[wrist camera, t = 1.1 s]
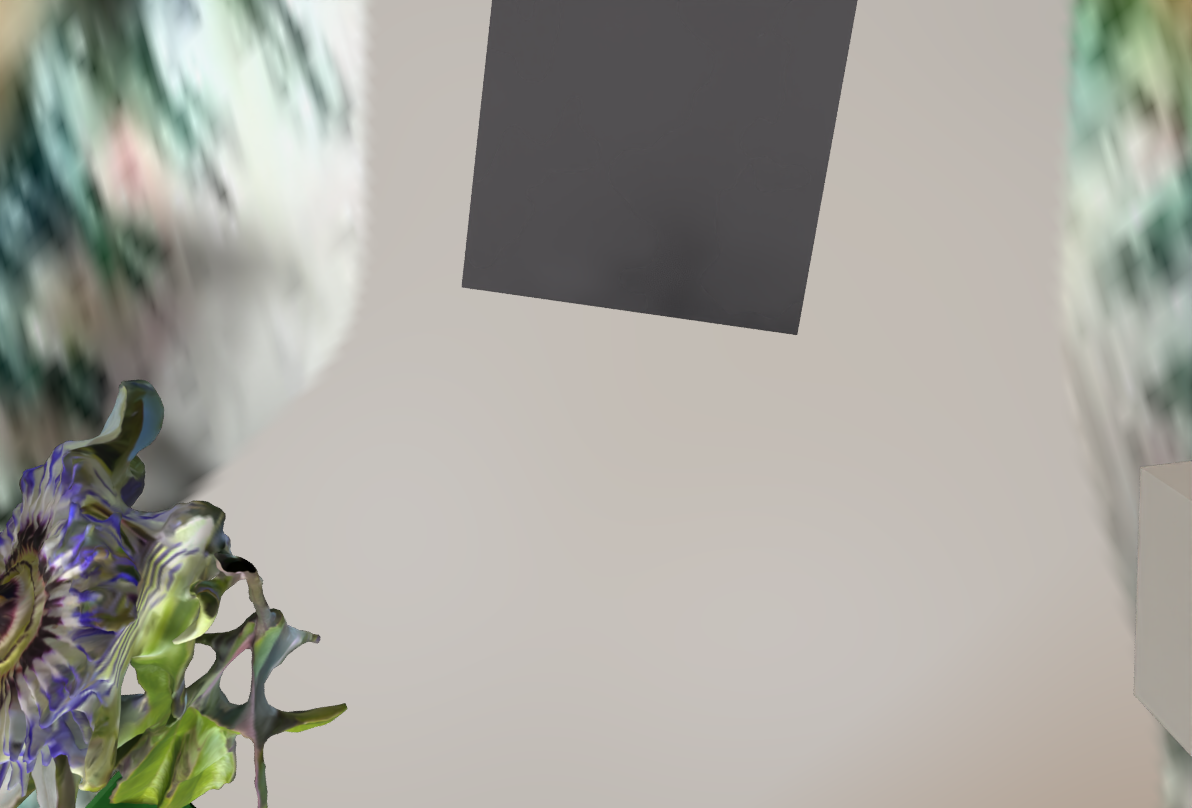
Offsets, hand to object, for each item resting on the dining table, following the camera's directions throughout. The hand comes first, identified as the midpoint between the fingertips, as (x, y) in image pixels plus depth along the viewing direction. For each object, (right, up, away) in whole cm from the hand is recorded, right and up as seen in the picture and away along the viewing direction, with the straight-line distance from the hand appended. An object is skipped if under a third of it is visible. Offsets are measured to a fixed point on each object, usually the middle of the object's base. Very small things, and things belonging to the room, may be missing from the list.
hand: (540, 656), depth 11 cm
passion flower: (-11, -3, +21) cm, 24 cm away
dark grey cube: (+2, +10, +17) cm, 20 cm away
